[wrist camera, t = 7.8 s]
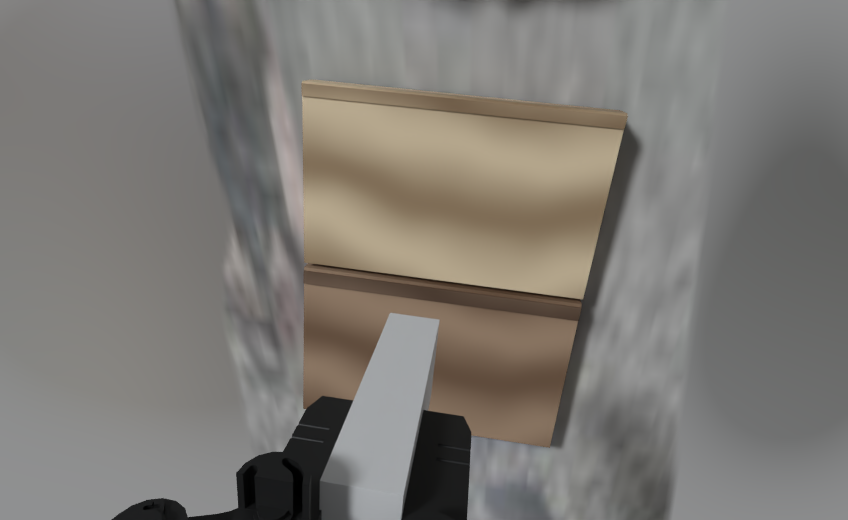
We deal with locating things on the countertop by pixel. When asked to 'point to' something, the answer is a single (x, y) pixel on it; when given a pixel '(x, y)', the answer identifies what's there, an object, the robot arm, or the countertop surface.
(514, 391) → the floor board
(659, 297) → the countertop surface
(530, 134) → the board
